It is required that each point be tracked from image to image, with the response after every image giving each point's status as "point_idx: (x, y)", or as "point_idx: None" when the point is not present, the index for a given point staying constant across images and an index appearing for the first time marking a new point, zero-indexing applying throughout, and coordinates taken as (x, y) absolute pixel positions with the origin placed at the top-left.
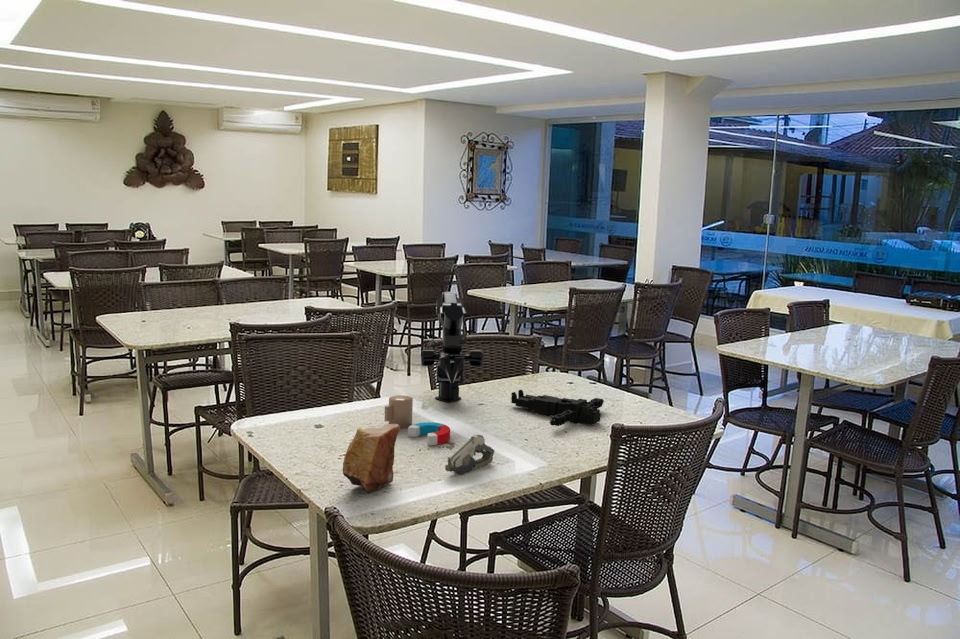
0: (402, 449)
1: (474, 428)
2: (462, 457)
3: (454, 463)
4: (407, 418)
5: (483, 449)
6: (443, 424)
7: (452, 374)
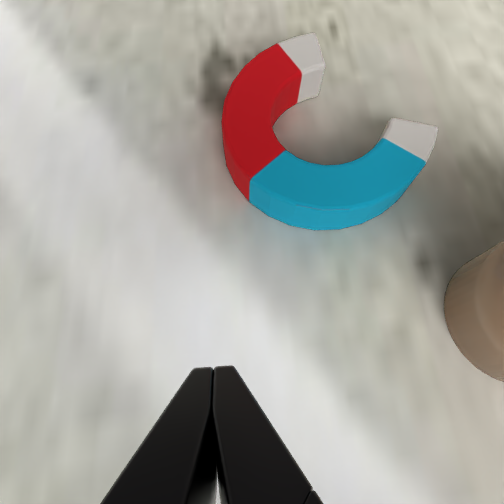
0: (400, 28)
1: (95, 301)
2: None
3: None
4: (485, 254)
5: None
6: (262, 179)
7: (199, 441)
